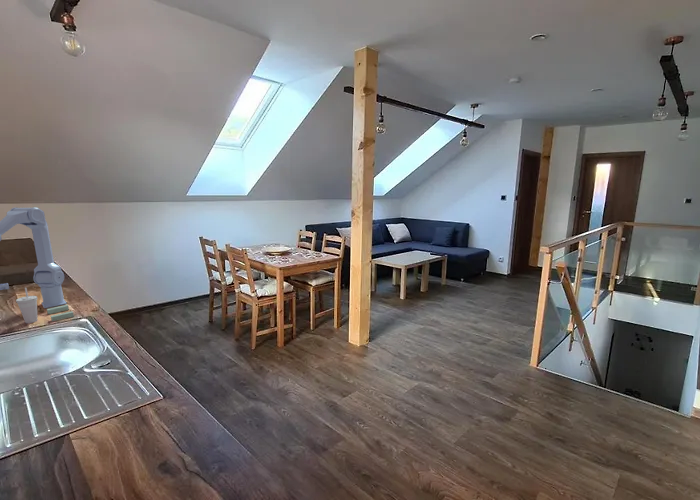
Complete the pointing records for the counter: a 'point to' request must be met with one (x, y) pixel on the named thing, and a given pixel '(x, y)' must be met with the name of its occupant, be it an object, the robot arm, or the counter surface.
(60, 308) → the slot
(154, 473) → the counter surface
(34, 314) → the smoothie
